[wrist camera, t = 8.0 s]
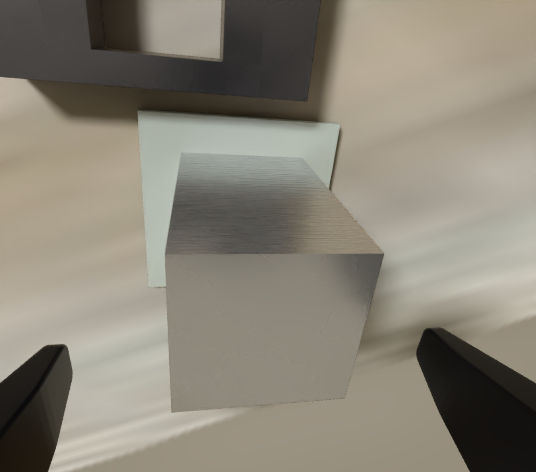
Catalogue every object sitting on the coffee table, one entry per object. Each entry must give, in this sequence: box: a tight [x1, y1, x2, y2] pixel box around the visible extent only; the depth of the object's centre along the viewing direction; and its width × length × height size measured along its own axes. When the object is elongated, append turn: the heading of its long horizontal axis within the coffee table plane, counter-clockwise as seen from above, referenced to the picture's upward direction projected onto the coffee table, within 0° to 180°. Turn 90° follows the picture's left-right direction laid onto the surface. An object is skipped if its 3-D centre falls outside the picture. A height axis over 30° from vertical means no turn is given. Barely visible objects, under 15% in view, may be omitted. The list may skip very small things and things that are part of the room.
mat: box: [137, 109, 340, 287], centre depth 16 cm, size 8×8×1 cm
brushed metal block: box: [165, 152, 384, 412], centre depth 13 cm, size 5×5×8 cm
